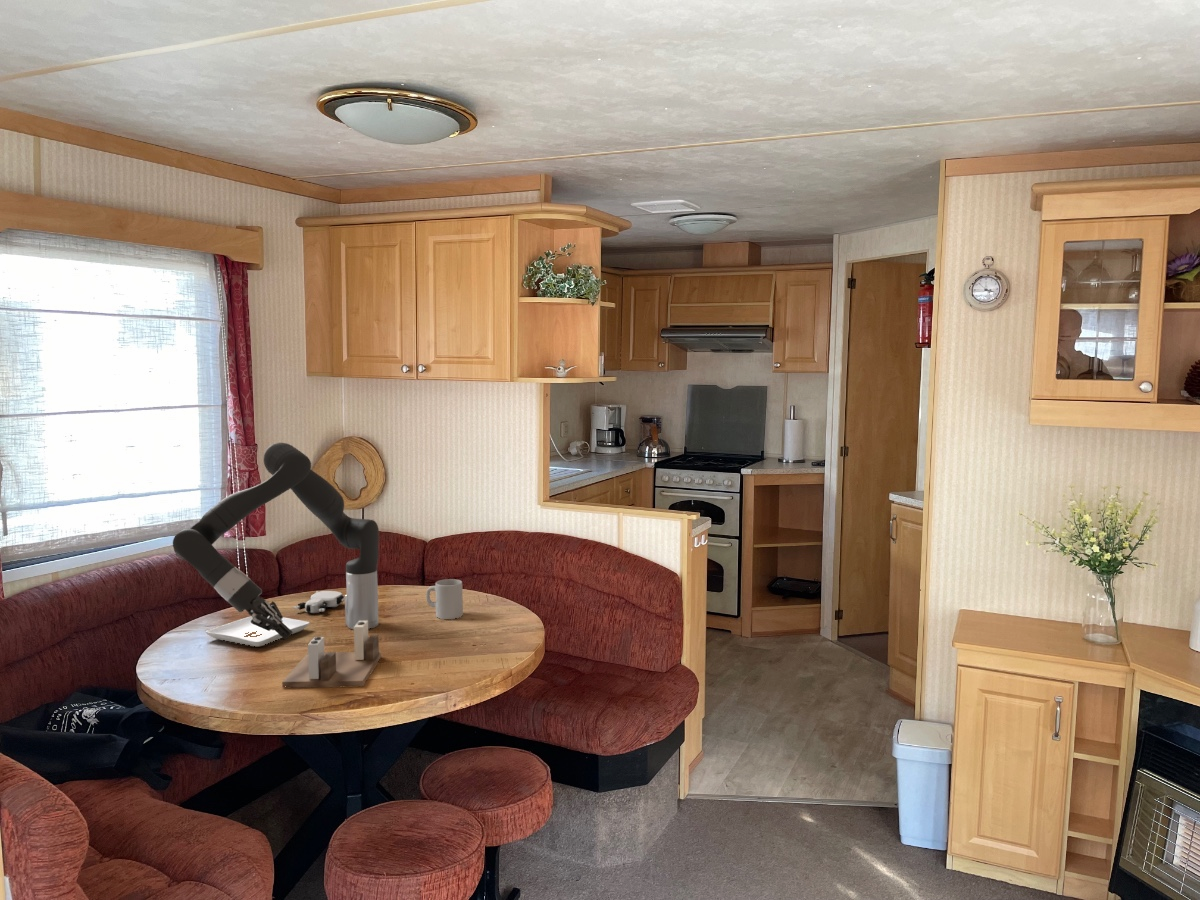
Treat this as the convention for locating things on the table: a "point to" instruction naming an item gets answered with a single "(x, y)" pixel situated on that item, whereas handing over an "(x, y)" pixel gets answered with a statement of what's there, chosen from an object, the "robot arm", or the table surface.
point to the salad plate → (240, 627)
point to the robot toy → (321, 601)
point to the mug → (447, 598)
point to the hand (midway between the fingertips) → (289, 636)
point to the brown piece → (337, 668)
